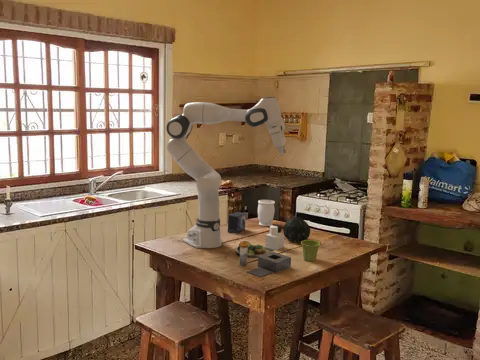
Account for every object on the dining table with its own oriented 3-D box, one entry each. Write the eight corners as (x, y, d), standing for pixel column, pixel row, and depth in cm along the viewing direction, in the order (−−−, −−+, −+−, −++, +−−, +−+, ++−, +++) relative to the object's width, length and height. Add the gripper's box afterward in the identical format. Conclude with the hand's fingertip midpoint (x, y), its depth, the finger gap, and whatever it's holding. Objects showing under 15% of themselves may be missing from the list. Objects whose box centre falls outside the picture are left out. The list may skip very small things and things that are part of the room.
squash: (301, 225, 279) (289, 208, 272) (319, 233, 267) (306, 215, 260) (286, 243, 276) (273, 227, 268) (303, 252, 264) (290, 234, 256)
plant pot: (323, 260, 238) (324, 243, 236) (311, 264, 231) (312, 246, 230) (308, 255, 244) (309, 238, 243) (296, 259, 238) (297, 242, 236)
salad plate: (275, 249, 254) (275, 240, 253) (272, 260, 236) (273, 251, 236) (239, 246, 257) (239, 237, 256) (233, 257, 239) (234, 248, 239)
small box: (236, 234, 278) (237, 216, 276) (227, 232, 281) (227, 214, 279) (245, 230, 287) (246, 212, 285) (236, 228, 290) (236, 211, 288)
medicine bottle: (273, 244, 260) (274, 223, 258) (284, 247, 256) (285, 225, 254) (265, 247, 255) (266, 225, 253) (276, 250, 250) (277, 228, 248)
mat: (247, 272, 218) (247, 271, 218) (258, 268, 224) (258, 267, 224) (260, 277, 213) (260, 276, 212) (271, 272, 218) (271, 272, 218)
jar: (277, 225, 300) (278, 201, 297) (265, 227, 293) (266, 203, 290) (265, 221, 307) (265, 198, 305) (253, 224, 300) (254, 200, 297)
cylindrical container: (237, 264, 228) (238, 242, 226) (243, 262, 230) (243, 240, 228) (243, 266, 225) (244, 244, 223) (248, 264, 228) (249, 242, 226)
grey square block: (257, 266, 225) (258, 256, 225) (272, 261, 233) (273, 251, 232) (275, 273, 218) (276, 262, 217) (290, 267, 226) (291, 257, 225)
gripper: (272, 127, 253) (279, 152, 255) (267, 131, 234) (275, 158, 235) (284, 124, 252) (291, 149, 254) (279, 128, 232) (287, 155, 234)
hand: (283, 154), depth 244 cm, fingers open, 8 cm apart
